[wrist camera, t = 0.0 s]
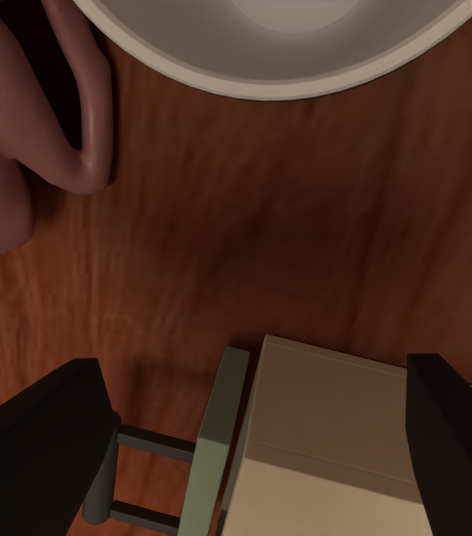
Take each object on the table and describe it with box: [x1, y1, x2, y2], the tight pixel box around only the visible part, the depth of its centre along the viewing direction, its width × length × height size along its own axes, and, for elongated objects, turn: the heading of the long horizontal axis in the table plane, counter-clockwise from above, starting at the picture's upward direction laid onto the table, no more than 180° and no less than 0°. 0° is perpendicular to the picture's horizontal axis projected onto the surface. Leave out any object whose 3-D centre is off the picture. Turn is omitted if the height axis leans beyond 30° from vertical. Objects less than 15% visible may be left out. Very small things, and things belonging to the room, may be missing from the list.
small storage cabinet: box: [214, 334, 472, 536], centre depth 20 cm, size 15×13×8 cm
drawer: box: [82, 346, 250, 536], centre depth 21 cm, size 18×11×6 cm, turn 79°
